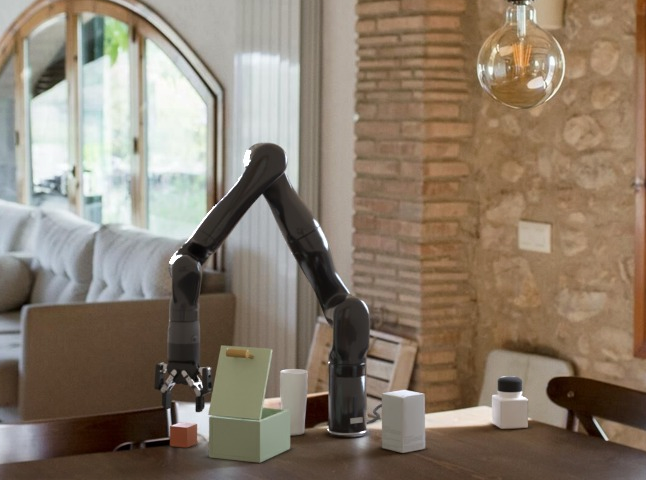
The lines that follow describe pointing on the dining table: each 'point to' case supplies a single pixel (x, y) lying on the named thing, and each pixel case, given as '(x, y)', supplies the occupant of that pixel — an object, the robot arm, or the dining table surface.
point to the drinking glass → (294, 397)
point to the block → (183, 435)
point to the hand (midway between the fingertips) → (183, 410)
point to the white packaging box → (403, 421)
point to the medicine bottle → (509, 404)
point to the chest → (250, 436)
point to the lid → (240, 382)
